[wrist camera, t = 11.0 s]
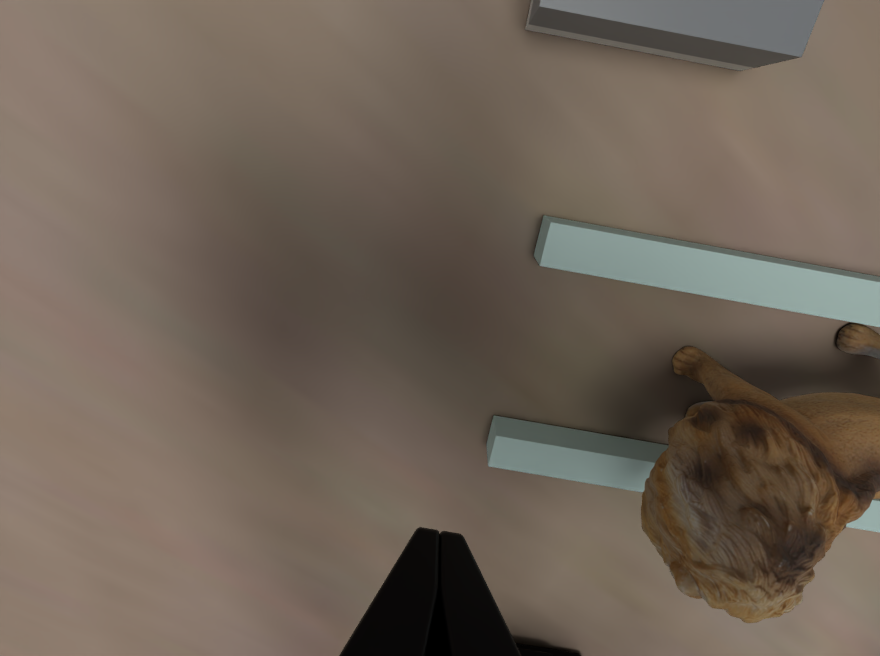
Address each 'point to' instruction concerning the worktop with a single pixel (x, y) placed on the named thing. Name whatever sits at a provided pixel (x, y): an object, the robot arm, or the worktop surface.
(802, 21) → the button housing
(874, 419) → the lion figurine
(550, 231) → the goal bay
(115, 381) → the worktop surface
